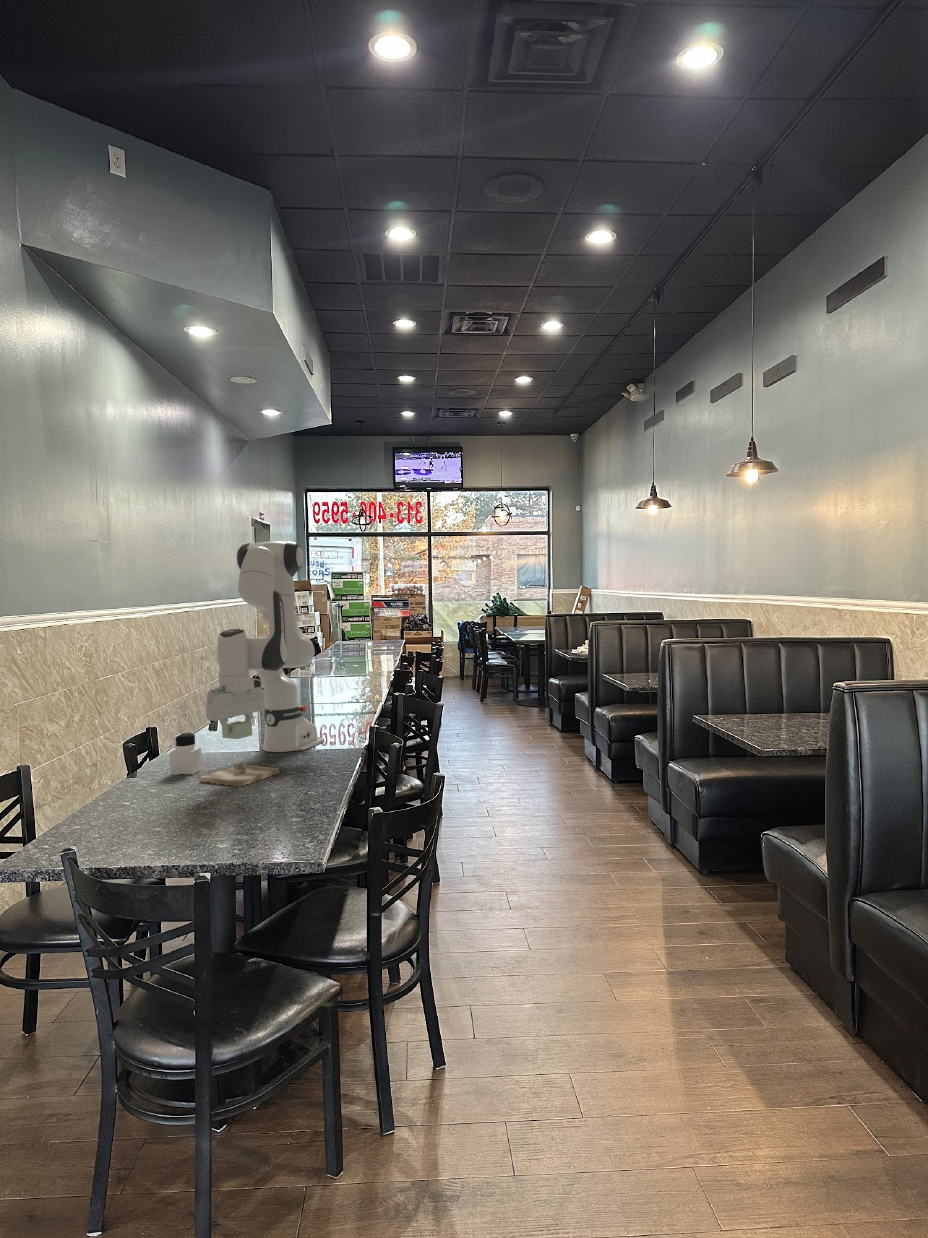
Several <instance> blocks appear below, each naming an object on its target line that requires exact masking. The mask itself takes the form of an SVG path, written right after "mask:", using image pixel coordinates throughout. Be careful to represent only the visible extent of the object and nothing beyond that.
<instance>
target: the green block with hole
mask: <svg viewBox="0 0 928 1238" xmlns="http://www.w3.org/2000/svg"><path fill="white" fill-rule="evenodd" d="M252 723H253V722H252V721H251V722H245V720H244V721H243V720H234V721H231V722H230V721H229V722H227V724H228V726H229V727H231V731H232V732H231V733H228V734H224V731H223V727H222V726H221V732H222V739H232V740H239V739H243V738H247V737H250V736H253V727H252V726H253V724H252Z"/></svg>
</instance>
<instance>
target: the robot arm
mask: <svg viewBox="0 0 928 1238" xmlns="http://www.w3.org/2000/svg"><path fill="white" fill-rule="evenodd" d="M303 562H304V552H303V550H302V546H301V545H300V544H299V542H295V541H291V540H289V541H288V540H287V541H280V540H269V541H261V542H260V541H259V542H255V543H254V542H248V543H247V542H246V543H244V544H241V546H240V547H239V548H238V549H237V552H236V564H237V566H238V568H239V570H240V571H239V577H238V582H237V592H238V594H239V596H240V598H241V599H242V600H243V601H244V602H245V603H247V604H248V605H249V606H252V607H253V608H257V609H260V610H261V616H262V620H264V621H265V622H266V623H267V624H268V626H269V629H268V630H269V635H268V636H266V635H265V636H259V637H258V636H257V637H254V638H247V634H246V631H245V630H243V629H240V628H232V629H225V630H223V631H221V632H220V633H219V634H218V638H217V647H216V651H217V652H216V653H217V663H218V666H219V671H218V686H217V687H216V688H215V687H213V688H211V689H210V690H209V691H208V692H207V693H206V704H205V706H206V707H205V718H206V719H207V720H208V721H211V722H217V721H219V724H220V725H221V728H222V727H223V731H224V734H228V733H231V732H232V731H231V727H229V726H228V724H227V723H229V719H230V718H231V719H232V718H234V717H239V716H244V717H245V719H244V721H245V722H252V718H253V717H254V716H253V713H257V712H263V711H264V720H265V725H264V741H263V744H262V747H263V748H262V751H264V752H269V753H284V752H285V753H286V752H293V751H305V750H307V749H310V748H312V747H315V746H316V745H320V744H321V743H324V742H325V741H326V740H325V738H324V737H322V736H318V730H317V726H316V725H315V724H314V723H312V722H311V721H310V720H308V719H307V718H305V716H303V713H307V710H308V707H307V706H306V705H301V706H300V705H299V700H298V686H297V683H296V682H295V681H294V680H293V679H291V678H289V677H288V676H287V675H286V673H285V672H284V670H283V668H284V669H288V668H289V669H290V668H291V669H292V668H293V669H296V668H301V667H305V666H309V665H310V664H311V662H312V661H313V660H314V657H315V647H314V643H313V642H312V640H311V639H309V638H308V637H307V636H306V635H305V634H304V633H303V631H302V630H301V628H300V626H299V624H298V620H297V617H296V614H297V613H296V594H295V592H296V590H295V583H294V582H295V581H294V576H295V575H296V573H298V572H299V571H300V569H301V568H302V567H303ZM250 671H255V673H256V674H257V676H258V677H259V679H258V678H253V677H250V676H251V675H250ZM262 687H263V688H262Z"/></svg>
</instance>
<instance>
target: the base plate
mask: <svg viewBox="0 0 928 1238" xmlns="http://www.w3.org/2000/svg"><path fill="white" fill-rule="evenodd" d="M276 774H277V775H279V774H280V768H276V767H270V766H269V767H267V766H259V765H258V766H257V765H250V764H246V761H238V762H234V763H233V766H230V767H227V768H224V769H221V770H217V771H215V772H211V773H207V774H204V775H200V776H199V778H200V779H199V780H200V783H206V782H211V783H210V784H213V783H216V784H215V785H221V784H224V785H223V786H228V785H234V786H233V787H236V786H238V787H237V788H241V787H243V785H244V786H247V785H250V784H253V783H255V782H259V781H262V780H265V779H267V777H268V778H271V777H273V776H272V775H274V776H276ZM270 776H271V777H270ZM261 779H262V780H261ZM258 780H259V781H258ZM252 782H253V783H252ZM246 784H247V785H246Z"/></svg>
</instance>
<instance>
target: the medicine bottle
mask: <svg viewBox="0 0 928 1238" xmlns="http://www.w3.org/2000/svg"><path fill="white" fill-rule="evenodd" d="M173 739H174V740H173V741H174V742H173V743H174V748H175V749H174V750H172V751H170V752H169V766H170V767H169V768H170V775H171V774H172V775H171V776H174V775H173V774H185V775H184V776H189V774H192V775H194V774H196V773H197V772H200V771H201V770H203V761H202V760H203V759H202V758H203V757H202V747H201V746H196V735H195V734H194V733H193V732H192V733H191V732H183V733H182V732H181V733H177V734H176V735H174V737H173ZM187 774H188V775H187Z"/></svg>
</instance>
